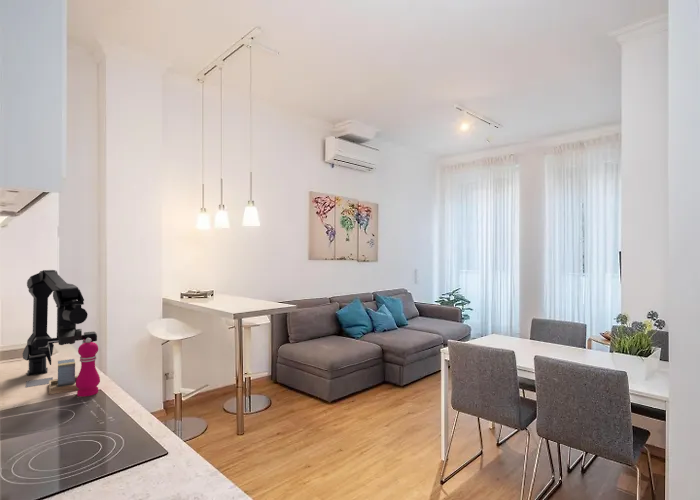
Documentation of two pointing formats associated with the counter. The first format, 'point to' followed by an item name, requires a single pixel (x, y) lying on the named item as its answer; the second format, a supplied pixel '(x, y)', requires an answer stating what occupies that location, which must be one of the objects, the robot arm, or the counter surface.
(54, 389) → the beige shallow tray
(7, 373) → the counter surface
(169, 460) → the counter surface
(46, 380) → the mat
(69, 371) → the tin
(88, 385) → the pepper mill
